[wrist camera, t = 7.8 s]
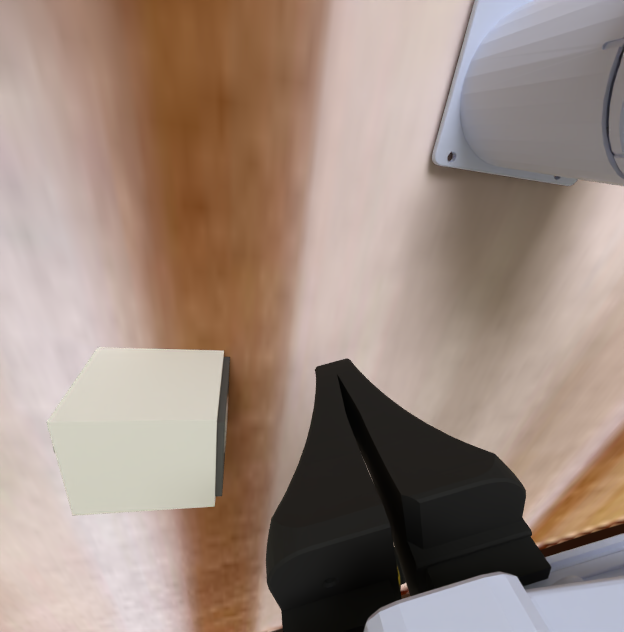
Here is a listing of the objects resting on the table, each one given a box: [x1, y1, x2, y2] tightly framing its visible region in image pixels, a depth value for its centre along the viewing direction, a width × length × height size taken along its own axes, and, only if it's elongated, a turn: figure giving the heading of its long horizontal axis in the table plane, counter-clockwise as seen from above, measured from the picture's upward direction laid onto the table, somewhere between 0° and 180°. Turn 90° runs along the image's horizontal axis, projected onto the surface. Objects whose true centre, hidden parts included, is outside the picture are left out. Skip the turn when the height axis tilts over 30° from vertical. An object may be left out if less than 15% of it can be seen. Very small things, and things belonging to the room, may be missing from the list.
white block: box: [47, 347, 230, 516], centre depth 21 cm, size 8×7×6 cm
